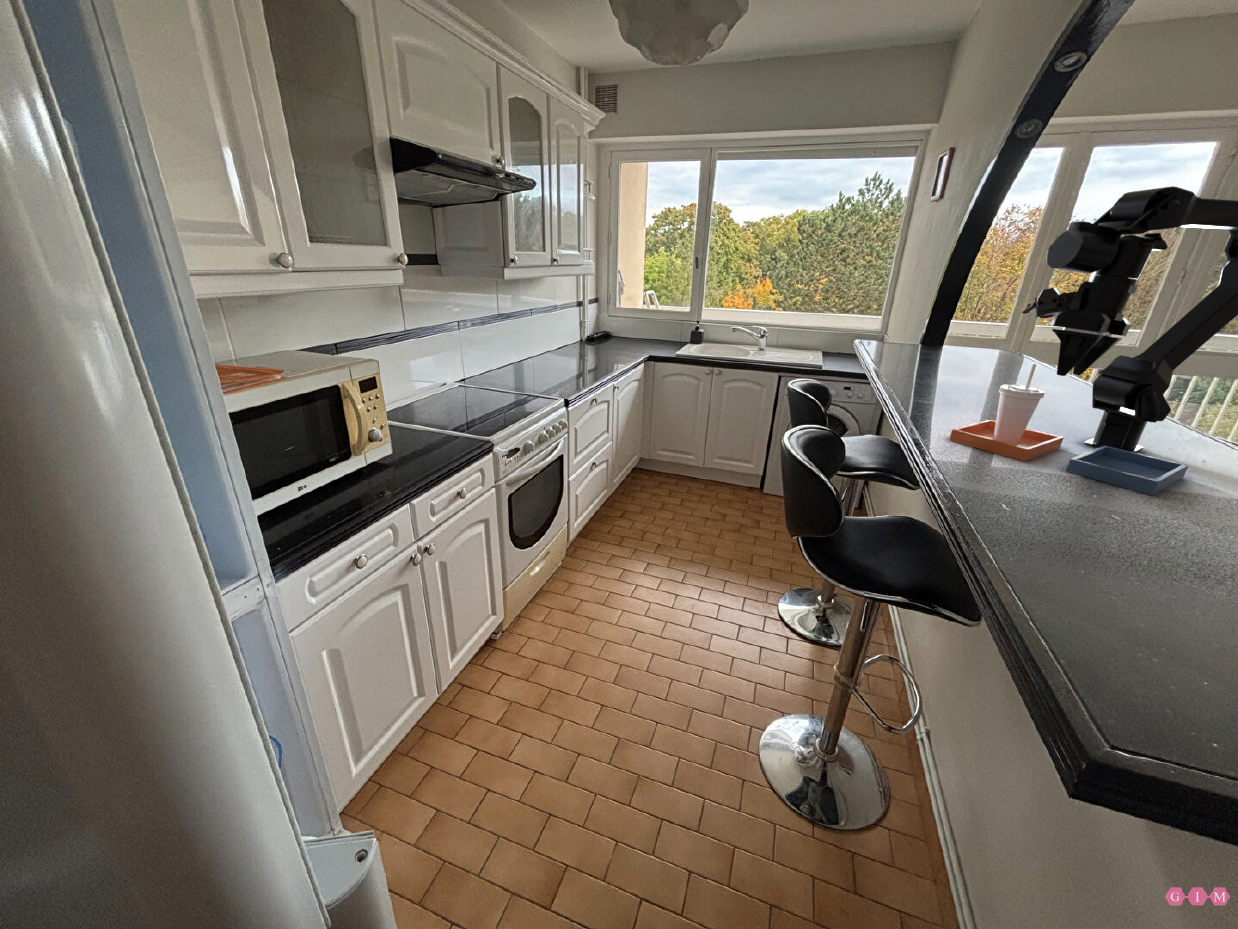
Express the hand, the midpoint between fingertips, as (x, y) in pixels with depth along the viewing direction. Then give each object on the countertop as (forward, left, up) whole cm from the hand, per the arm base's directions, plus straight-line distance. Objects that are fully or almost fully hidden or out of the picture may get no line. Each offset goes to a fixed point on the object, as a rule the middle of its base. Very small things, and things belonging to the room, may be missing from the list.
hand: (1068, 375), depth 85 cm
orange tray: (+4, -4, -13) cm, 15 cm away
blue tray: (+3, +12, -13) cm, 18 cm away
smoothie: (+4, -4, -13) cm, 14 cm away
